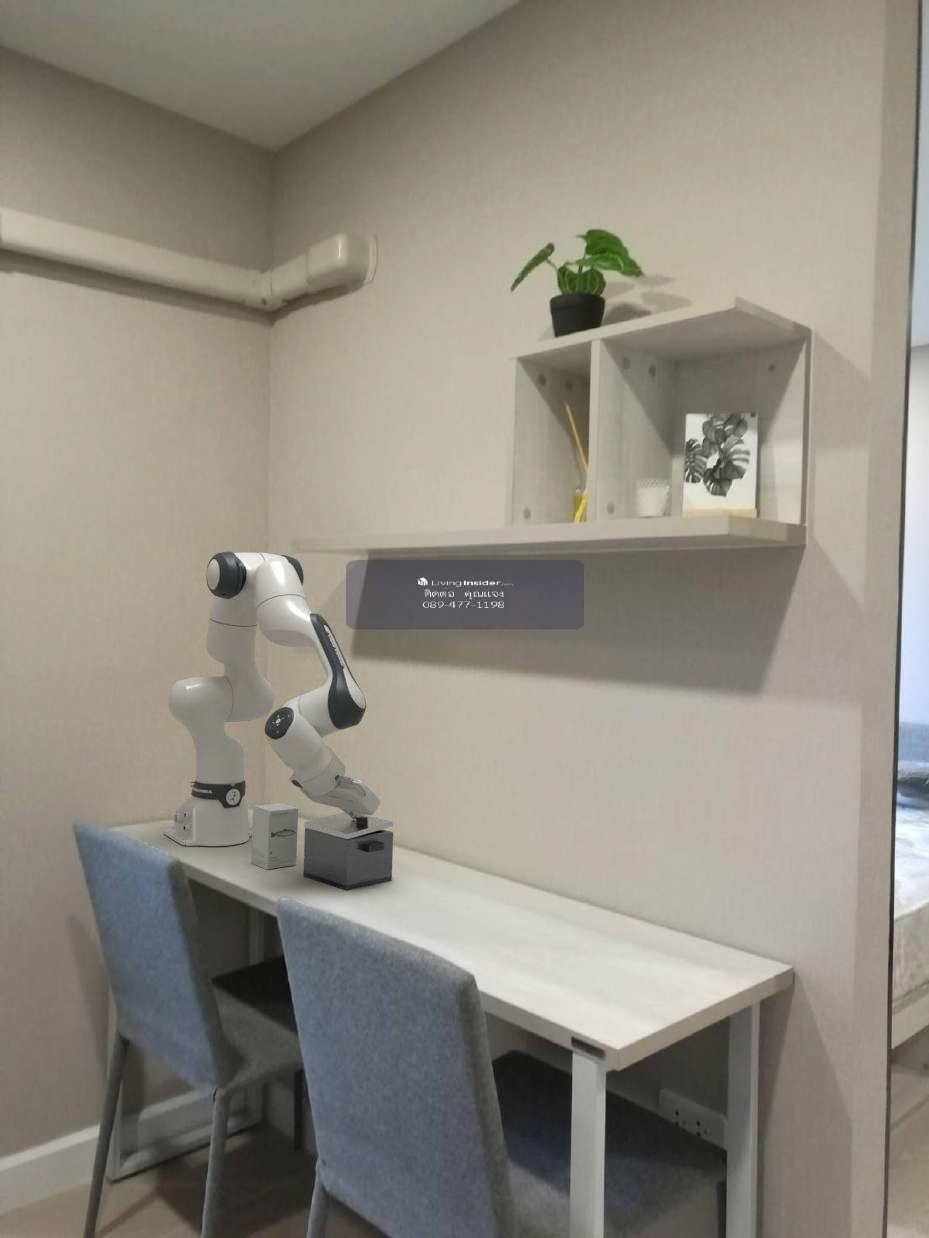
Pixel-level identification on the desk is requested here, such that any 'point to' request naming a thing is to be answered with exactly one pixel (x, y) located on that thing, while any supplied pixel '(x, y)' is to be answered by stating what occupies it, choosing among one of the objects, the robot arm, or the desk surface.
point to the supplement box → (274, 835)
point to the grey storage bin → (348, 859)
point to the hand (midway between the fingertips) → (358, 816)
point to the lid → (347, 825)
